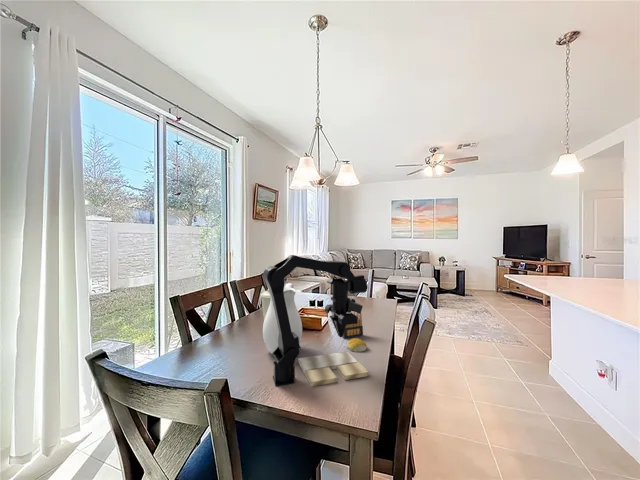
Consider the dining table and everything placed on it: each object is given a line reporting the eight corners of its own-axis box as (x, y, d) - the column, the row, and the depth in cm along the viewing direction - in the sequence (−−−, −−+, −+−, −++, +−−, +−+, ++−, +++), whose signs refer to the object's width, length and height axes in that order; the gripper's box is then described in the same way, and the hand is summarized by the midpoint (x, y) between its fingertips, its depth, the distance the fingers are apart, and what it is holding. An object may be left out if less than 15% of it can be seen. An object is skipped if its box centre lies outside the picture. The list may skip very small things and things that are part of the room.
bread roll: (361, 343, 131) (361, 335, 131) (369, 351, 122) (369, 342, 122) (344, 345, 129) (344, 336, 129) (350, 353, 120) (350, 344, 120)
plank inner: (311, 386, 94) (311, 382, 94) (305, 375, 101) (305, 370, 101) (336, 382, 97) (336, 377, 96) (329, 371, 104) (328, 367, 104)
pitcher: (296, 361, 113) (295, 291, 113) (256, 357, 116) (255, 289, 116) (310, 339, 137) (309, 281, 136) (276, 337, 140) (276, 280, 139)
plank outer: (345, 380, 97) (345, 375, 97) (336, 370, 105) (336, 365, 105) (368, 375, 100) (368, 371, 100) (358, 366, 108) (358, 362, 108)
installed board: (304, 374, 102) (304, 369, 102) (298, 362, 112) (298, 358, 112) (357, 365, 109) (357, 361, 109) (347, 355, 118) (347, 351, 118)
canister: (253, 323, 162) (253, 286, 161) (276, 316, 176) (276, 282, 176) (276, 329, 151) (275, 290, 150) (298, 321, 165) (298, 285, 165)
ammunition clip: (361, 334, 143) (361, 310, 142) (363, 335, 141) (363, 311, 141) (342, 337, 139) (341, 313, 138) (343, 338, 137) (343, 314, 137)
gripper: (371, 298, 100) (371, 342, 100) (349, 289, 117) (350, 326, 118) (342, 301, 96) (342, 346, 97) (324, 290, 114) (324, 329, 114)
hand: (340, 336), depth 106 cm, fingers closed
